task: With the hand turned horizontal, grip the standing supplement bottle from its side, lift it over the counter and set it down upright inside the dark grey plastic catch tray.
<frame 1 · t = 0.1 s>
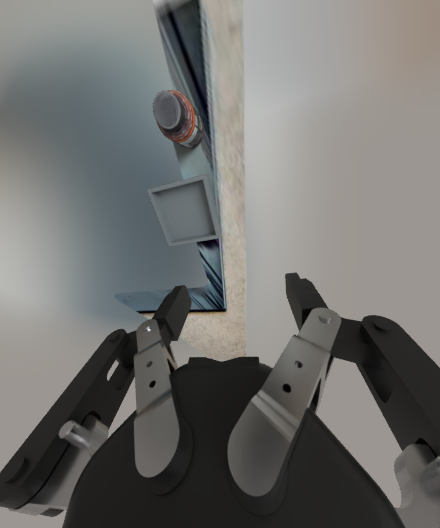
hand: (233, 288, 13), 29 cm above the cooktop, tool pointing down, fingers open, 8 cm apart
supplement bottle: (190, 130, 32), on the cooktop
catch tray: (189, 211, 39), on the cooktop
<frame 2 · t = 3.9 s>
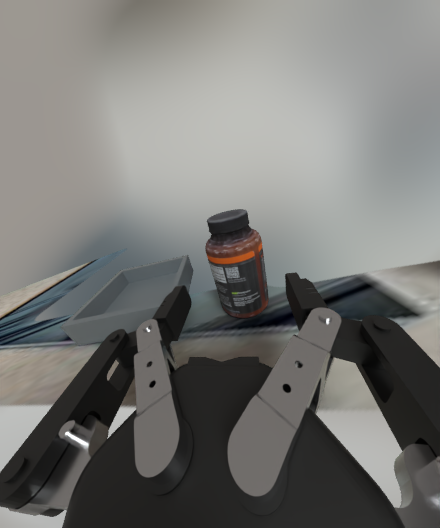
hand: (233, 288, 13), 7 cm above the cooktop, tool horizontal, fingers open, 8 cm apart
supplement bottle: (245, 303, 21), on the cooktop
catch tray: (148, 300, 26), on the cooktop
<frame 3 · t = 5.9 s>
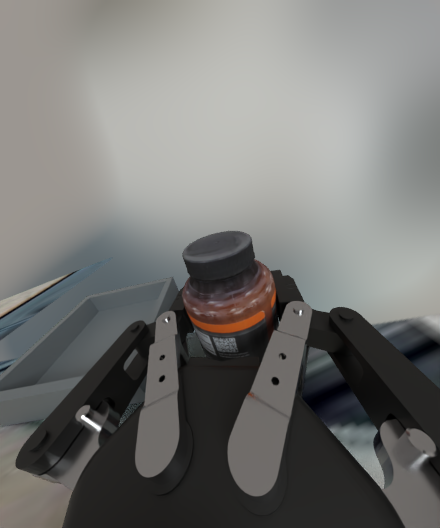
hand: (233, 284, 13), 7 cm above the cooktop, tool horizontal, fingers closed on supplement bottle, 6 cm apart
supplement bottle: (246, 362, 14), on the cooktop, touching gripper
catch tray: (117, 341, 19), on the cooktop
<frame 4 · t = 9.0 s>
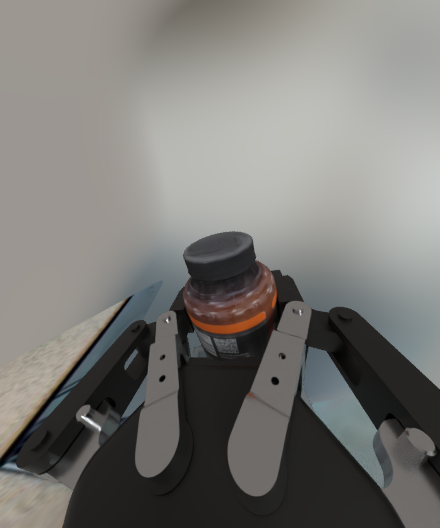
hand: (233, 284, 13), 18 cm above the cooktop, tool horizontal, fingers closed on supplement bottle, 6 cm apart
supplement bottle: (246, 362, 14), point 11 cm above the cooktop, touching gripper
when the fingers open (8 cm above the cooktop, at t = 11.9 s): supplement bottle drops 1 cm, resting on catch tray.
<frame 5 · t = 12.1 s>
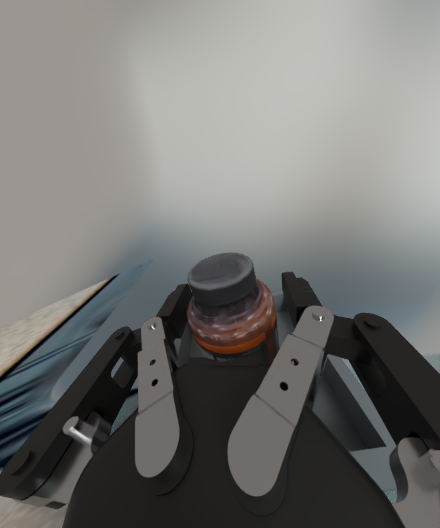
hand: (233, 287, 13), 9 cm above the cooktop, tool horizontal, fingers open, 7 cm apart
supplement bottle: (247, 372, 15), point 1 cm above the cooktop, touching catch tray
catch tray: (249, 374, 15), on the cooktop
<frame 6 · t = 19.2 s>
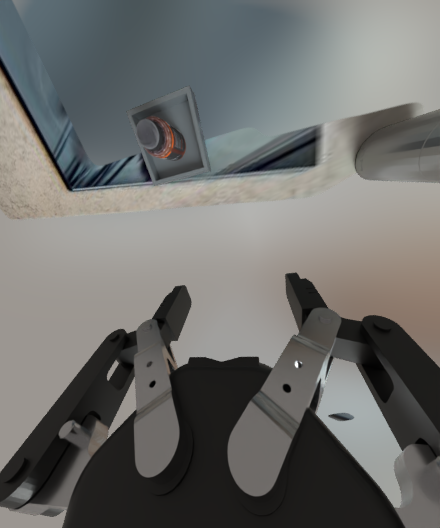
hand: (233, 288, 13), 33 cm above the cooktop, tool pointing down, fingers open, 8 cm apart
supplement bottle: (174, 145, 36), point 1 cm above the cooktop, touching catch tray
catch tray: (175, 145, 36), on the cooktop
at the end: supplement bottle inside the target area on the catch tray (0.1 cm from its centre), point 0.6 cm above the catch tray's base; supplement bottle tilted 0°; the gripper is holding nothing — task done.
